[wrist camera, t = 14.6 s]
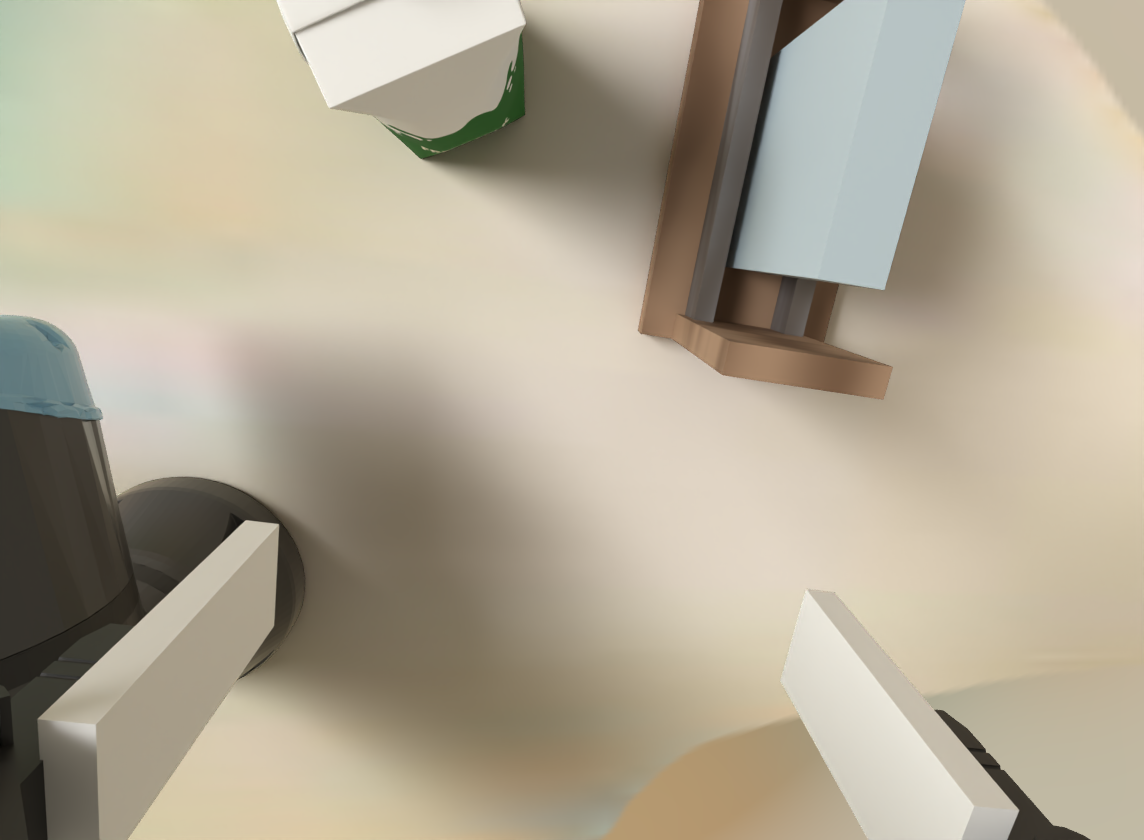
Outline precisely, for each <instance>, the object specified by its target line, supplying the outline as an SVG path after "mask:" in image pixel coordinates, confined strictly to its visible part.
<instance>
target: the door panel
mask: <svg viewBox="0 0 1144 840" xmlns="http://www.w3.org/2000/svg"><path fill="white" fill-rule="evenodd" d="M964 4H965V0H844V1H843V2H841V3H840V4H839V5H837V6H836V7H835V8H834V9H832V10H831V11H830V12H829V13H827V14H826V15H825V16H824V17H822V18H821V19H820V20H818V21H817V22H816V23H815V24H813V25H812V26H811V27H810V28H808V29H807V30H806V31H804V32H803V33H802V34H801V35H799V36H798V37H797V38H796V39H794V40H793V41H792V42H791V43H789V44H788V45H787V46H785V47H784V48H783V49H782V50H780V51H779V52H778V53H777V54H775V55H774V56H773V57H772V58H770V62H769V67H768V72H767V76H766V81H765V86H764V90H763V95H762V99H761V104H760V109H759V113H758V118H757V123H756V127H755V132H754V136H753V141H752V146H751V150H750V155H749V160H748V164H747V169H746V173H745V178H744V183H743V187H742V192H741V196H740V201H739V206H738V210H737V215H736V220H735V224H734V229H733V233H732V238H731V243H730V247H729V252H728V257H727V261H726V266H725V267H730V268H736V269H742V270H748V271H754V272H760V273H766V274H772V275H779V276H786V277H793V278H800V279H808V280H815V281H822V282H829V283H836V284H844V285H851V286H858V287H865V288H872V289H880V290H885V286H886V282H887V279H888V275H889V272H890V268H891V265H892V261H893V257H894V254H895V250H896V247H897V243H898V240H899V236H900V232H901V229H902V225H903V222H904V218H905V215H906V211H907V207H908V204H909V200H910V197H911V193H912V190H913V186H914V182H915V179H916V175H917V172H918V168H919V165H920V161H921V157H922V154H923V150H924V147H925V143H926V140H927V136H928V132H929V129H930V125H931V122H932V118H933V115H934V111H935V107H936V104H937V100H938V97H939V93H940V90H941V86H942V82H943V79H944V75H945V72H946V68H947V65H948V61H949V57H950V54H951V50H952V47H953V43H954V40H955V36H956V32H957V29H958V25H959V22H960V18H961V15H962V11H963V8H964Z"/></svg>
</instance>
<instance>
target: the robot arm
mask: <svg viewBox="0 0 1144 840" xmlns="http://www.w3.org/2000/svg"><path fill="white" fill-rule="evenodd" d="M101 419H103V416H102V412H101V410H100V409H99V408H97V407H95V405H94V402H93V399H92V396H91V393H90V390H89V387H88V384H87V380H86V377H85V374H84V370H83V367H82V363H81V360H80V357H79V353H78V351H77V349H76V346H75V345H74V343H73V342H72V340H71V339H70V338H69V337H68V336H67V335H66V334H65V333H64V332H63V331H62V330H60V329H59V328H57V327H56V326H54V325H52V324H50V323H48V322H46V321H43V320H40V319H36V318H32V317H25V316H13V315H0V840H128V838H129V837H130V835H131V834H132V832H133V831H134V829H135V828H136V826H137V825H138V823H139V822H140V821H141V819H142V818H143V816H144V815H145V813H146V812H147V810H148V809H149V807H150V806H151V805H152V803H153V802H154V800H155V799H156V797H157V796H158V794H159V793H160V791H161V790H162V789H163V787H164V786H165V784H166V783H167V781H168V780H169V778H170V777H171V775H172V774H173V772H174V771H175V770H176V768H177V767H178V765H179V764H180V762H181V761H182V759H183V758H184V756H185V755H186V754H187V752H188V751H189V749H190V748H191V746H192V745H193V743H194V742H195V740H196V739H197V737H198V736H199V735H200V733H201V732H202V730H203V729H204V727H205V726H206V724H207V723H208V721H209V720H210V719H211V717H212V716H213V714H214V713H215V711H216V710H217V708H218V707H219V705H220V704H221V703H222V701H223V700H224V698H225V697H226V695H227V694H228V692H229V691H230V689H231V688H232V686H233V685H234V684H235V682H236V681H237V680H238V679H240V678H242V677H244V676H246V675H247V674H249V673H250V672H252V671H254V670H255V669H257V668H258V667H259V666H261V665H262V664H263V663H264V662H266V661H267V660H268V659H269V658H270V657H271V656H272V655H273V654H274V653H275V651H276V650H277V649H278V648H279V646H280V645H281V644H282V642H283V641H284V639H285V638H286V636H287V635H288V633H289V631H290V630H291V628H292V627H293V625H294V623H295V622H296V620H297V618H298V615H299V613H300V610H301V607H302V603H303V598H304V590H305V579H304V570H303V565H302V561H301V558H300V555H299V552H298V550H297V548H296V545H295V544H294V542H293V540H292V538H291V536H290V535H289V533H288V532H287V530H286V529H285V527H284V526H283V525H282V524H281V523H280V521H279V520H278V519H277V518H276V517H275V516H274V515H273V514H272V513H271V512H270V511H269V510H268V509H267V508H265V507H264V506H263V505H262V504H260V503H259V502H257V501H256V500H255V499H253V498H251V497H250V496H248V495H247V494H245V493H243V492H241V491H239V490H237V489H234V488H232V487H230V486H227V485H224V484H221V483H218V482H215V481H211V480H206V479H200V478H192V477H170V478H162V479H156V480H152V481H148V482H145V483H142V484H139V485H137V486H135V487H132V488H130V489H129V490H127V491H125V492H123V493H122V494H120V495H118V496H117V497H116V493H115V488H114V484H113V479H112V475H111V470H110V466H109V461H108V457H107V452H106V448H105V443H104V439H103V434H102V430H101V425H100V421H99V420H101ZM780 681H781V683H782V685H783V687H784V689H785V690H786V692H787V694H788V696H789V698H790V699H791V701H792V703H793V705H794V707H795V709H796V710H797V712H798V714H799V716H800V718H801V719H802V721H803V723H804V725H805V727H806V728H807V730H808V732H809V734H810V735H811V737H812V739H813V741H814V742H815V745H816V746H817V748H818V750H819V752H820V754H821V755H822V757H823V759H824V761H825V763H826V765H827V766H828V768H829V770H830V772H831V773H832V775H833V777H834V779H835V780H836V783H837V784H838V786H839V788H840V789H841V792H842V793H843V795H844V797H845V799H846V801H847V802H848V804H849V806H850V808H851V810H852V812H853V813H854V815H855V817H856V819H857V821H858V822H859V824H860V826H861V828H862V830H863V831H864V833H865V835H866V837H867V839H868V840H1090V839H1088V838H1087V837H1085V836H1083V835H1081V834H1079V833H1077V832H1074V831H1072V830H1069V829H1067V828H1064V827H1059V826H1053V825H1052V824H1051V823H1050V822H1049V820H1048V819H1047V818H1046V817H1045V816H1044V815H1043V814H1042V813H1041V811H1040V810H1039V809H1038V808H1037V807H1036V806H1035V805H1034V803H1033V802H1032V801H1031V800H1030V799H1029V798H1028V797H1027V796H1026V794H1025V793H1024V792H1023V791H1022V790H1021V789H1020V788H1019V786H1018V785H1017V784H1016V783H1015V782H1014V781H1013V780H1012V779H1011V778H1010V776H1009V775H1008V774H1007V773H1006V772H1005V771H1004V770H1001V769H1000V765H999V764H998V763H997V762H996V760H995V759H994V758H993V757H992V756H991V755H990V754H989V753H986V750H985V748H984V747H983V746H982V745H981V743H980V742H979V741H978V740H977V739H976V738H975V737H974V736H973V734H972V733H971V732H970V731H969V730H968V729H967V728H966V727H964V726H963V725H962V724H960V723H959V722H958V721H956V720H955V719H954V718H952V717H951V716H950V715H948V714H947V713H946V712H944V711H942V710H934V709H933V708H932V707H931V706H930V705H929V703H928V702H927V701H926V700H925V699H924V697H923V696H922V695H921V694H920V693H919V691H918V690H917V689H916V688H915V687H914V686H913V684H912V683H911V682H910V681H909V680H908V678H907V677H906V676H905V675H904V674H903V673H902V671H901V670H900V669H899V668H898V667H897V666H896V664H895V663H894V662H893V661H892V660H891V658H890V657H889V656H888V655H887V654H886V653H885V651H884V650H883V649H882V648H881V647H880V645H879V644H878V643H877V642H876V641H875V640H874V638H873V637H872V636H871V635H870V634H869V632H868V631H867V630H866V629H865V628H864V627H863V625H862V624H861V623H860V622H859V621H858V620H857V618H856V617H855V616H854V615H853V614H852V612H851V611H850V610H849V609H848V608H847V607H846V605H845V604H844V603H843V602H842V601H841V599H840V598H839V597H838V596H837V595H836V594H835V592H827V591H819V590H811V589H806V591H805V595H804V598H803V602H802V605H801V609H800V612H799V616H798V619H797V623H796V627H795V630H794V634H793V637H792V641H791V644H790V648H789V651H788V655H787V658H786V662H785V665H784V669H783V673H782V676H781V680H780Z"/></svg>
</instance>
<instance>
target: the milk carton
mask: <svg viewBox="0 0 1144 840" xmlns="http://www.w3.org/2000/svg"><path fill="white" fill-rule="evenodd" d="M276 1H277V3H278V6H279V9H280V11H281V14H282V17H283V19H284V21H285V24H286V26H287V28H288V30H289V33H290V35H291V37H292V39H293V41H294V43H295V45H296V47H297V49H298V51H299V53H300V54H301V56H302V57H303V59H304V60H305V61H306V63H307V64H308V65H309V66H310V68H311V70H312V72H313V74H314V77H315V79H316V81H317V83H318V85H319V88H320V90H321V92H322V94H323V96H324V98H325V101H326V103H327V105H328V107H329V108H330V109H337V110H343V111H349V112H355V113H361V114H367V115H372V116H373V117H375V118H376V119H377V120H379V121H380V122H381V123H382V124H383V125H384V126H385V127H386V128H387V129H388V130H390V131H391V132H392V133H393V134H394V135H395V136H396V137H397V138H398V139H400V140H401V141H402V142H403V143H404V144H405V145H406V146H407V147H408V148H409V149H411V150H412V151H413V152H414V153H415V154H416V155H417V156H418V157H419V158H420V159H422V158H425V157H429V156H432V155H435V154H439V153H442V152H445V151H448V150H451V149H453V148H456V147H458V146H460V145H463V144H465V143H468V142H470V141H472V140H475V139H477V138H479V137H482V136H484V135H486V134H489V133H491V132H494V131H496V130H498V129H500V128H502V127H504V126H505V125H507V124H509V123H511V122H513V121H515V120H517V119H518V118H520V117H522V116H524V115H525V101H524V62H523V42H522V30H523V28H524V27H525V25H526V20H525V16H524V12H523V9H522V6H521V2H520V0H276Z"/></svg>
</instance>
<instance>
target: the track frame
mask: <svg viewBox="0 0 1144 840" xmlns="http://www.w3.org/2000/svg"><path fill="white" fill-rule="evenodd" d="M843 1H844V0H700V2H699V7H698V13H697V18H696V23H695V29H694V34H693V39H692V45H691V50H690V55H689V61H688V66H687V71H686V77H685V82H684V87H683V93H682V98H681V103H680V109H679V114H678V119H677V125H676V130H675V135H674V141H673V146H672V151H671V157H670V162H669V167H668V173H667V178H666V183H665V189H664V194H663V199H662V205H661V210H660V215H659V221H658V226H657V231H656V237H655V242H654V247H653V253H652V258H651V263H650V269H649V274H648V279H647V285H646V290H645V296H644V301H643V306H642V312H641V317H640V322H639V328H638V331H639V332H640V333H641V334H647V335H653V336H659V337H666V338H672V339H673V340H674V341H676V342H677V343H679V344H680V345H681V346H683V347H684V348H686V349H687V350H688V351H690V352H691V353H693V354H694V355H695V356H697V357H698V358H699V359H701V360H702V361H704V362H705V363H706V364H708V365H709V366H711V367H712V368H713V369H715V370H716V371H718V372H719V373H720V374H722V375H725V376H732V377H738V378H745V379H752V380H758V381H765V382H771V383H778V384H784V385H791V386H797V387H804V388H811V389H817V390H824V391H830V392H837V393H843V394H850V395H857V396H863V397H870V398H876V399H884V396H885V392H886V389H887V385H888V382H889V378H890V375H891V372H892V368H893V367H891V366H888V365H885V364H883V363H880V362H877V361H874V360H871V359H868V358H866V357H863V356H860V355H857V354H854V353H851V352H849V351H846V350H843V349H840V348H837V347H834V346H832V345H829V344H826V343H824V339H825V335H826V331H827V328H828V324H829V320H830V316H831V312H832V308H833V305H834V301H835V297H836V293H837V289H838V286H839V284H836V283H829V282H822V281H815V280H808V279H800V278H793V277H786V276H779V275H772V274H766V273H760V272H754V271H748V270H742V269H736V268H730V267H725V266H726V261H727V257H728V252H729V247H730V243H731V238H732V233H733V229H734V224H735V220H736V215H737V210H738V206H739V201H740V196H741V192H742V187H743V183H744V178H745V173H746V169H747V164H748V160H749V155H750V150H751V146H752V141H753V136H754V132H755V127H756V123H757V118H758V113H759V109H760V104H761V99H762V95H763V90H764V86H765V81H766V76H767V72H768V67H769V62H770V58H772V57H773V56H774V55H775V54H777V53H778V52H779V51H780V50H782V49H783V48H784V47H785V46H787V45H788V44H789V43H791V42H792V41H793V40H794V39H796V38H797V37H798V36H799V35H801V34H802V33H803V32H804V31H806V30H807V29H808V28H810V27H811V26H812V25H813V24H815V23H816V22H817V21H818V20H820V19H821V18H822V17H824V16H825V15H826V14H827V13H829V12H830V11H831V10H832V9H834V8H835V7H836V6H837V5H839V4H840V3H841V2H843Z"/></svg>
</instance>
